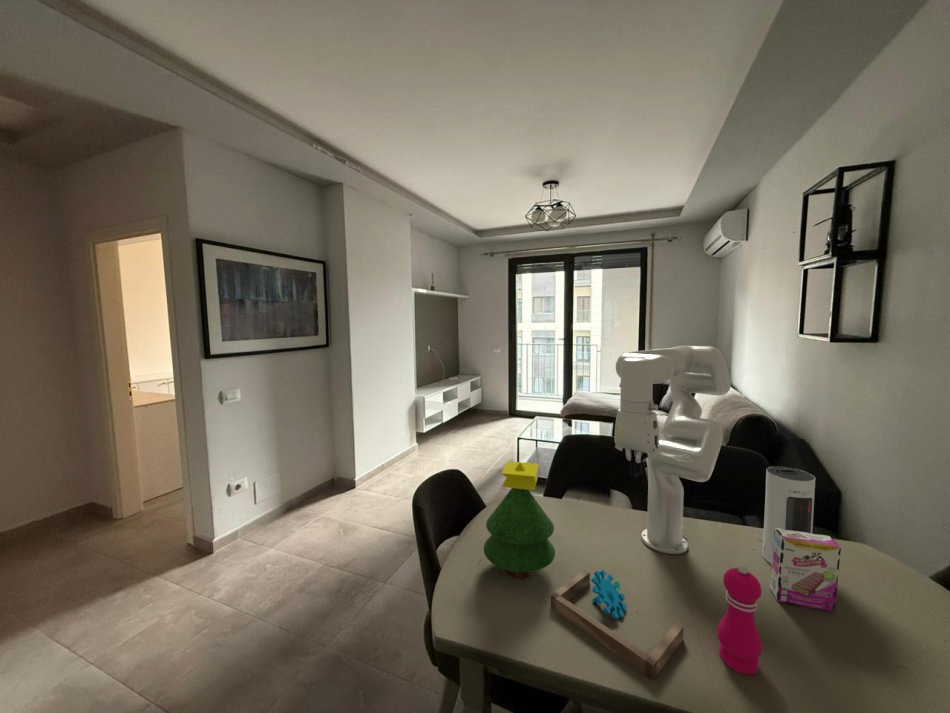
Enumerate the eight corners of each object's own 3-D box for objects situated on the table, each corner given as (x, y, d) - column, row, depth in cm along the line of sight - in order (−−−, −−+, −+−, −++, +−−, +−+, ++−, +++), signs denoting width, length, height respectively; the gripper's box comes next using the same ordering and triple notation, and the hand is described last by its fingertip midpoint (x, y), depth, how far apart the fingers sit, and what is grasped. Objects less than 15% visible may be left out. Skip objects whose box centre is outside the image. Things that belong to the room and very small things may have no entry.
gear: (615, 625, 80) (588, 576, 86) (596, 633, 83) (571, 586, 88) (636, 605, 88) (610, 561, 93) (618, 613, 91) (593, 570, 96)
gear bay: (584, 580, 97) (584, 569, 97) (683, 639, 78) (683, 626, 78) (550, 607, 88) (550, 595, 88) (652, 680, 69) (653, 665, 69)
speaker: (768, 568, 101) (773, 475, 99) (755, 547, 110) (760, 462, 108) (817, 578, 97) (824, 481, 95) (800, 555, 107) (806, 467, 104)
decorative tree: (475, 588, 94) (474, 473, 92) (492, 545, 113) (491, 448, 110) (552, 602, 89) (553, 481, 87) (556, 554, 108) (557, 454, 105)
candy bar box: (777, 603, 88) (781, 537, 87) (769, 589, 93) (772, 526, 92) (837, 614, 85) (842, 546, 83) (824, 599, 89) (829, 534, 88)
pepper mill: (707, 646, 77) (712, 554, 75) (740, 643, 77) (745, 552, 76) (735, 679, 70) (740, 578, 68) (770, 675, 70) (776, 575, 69)
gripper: (672, 408, 92) (671, 479, 94) (615, 399, 103) (615, 463, 105) (660, 414, 87) (659, 489, 89) (601, 404, 98) (601, 471, 100)
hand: (635, 474), depth 97 cm, fingers closed
